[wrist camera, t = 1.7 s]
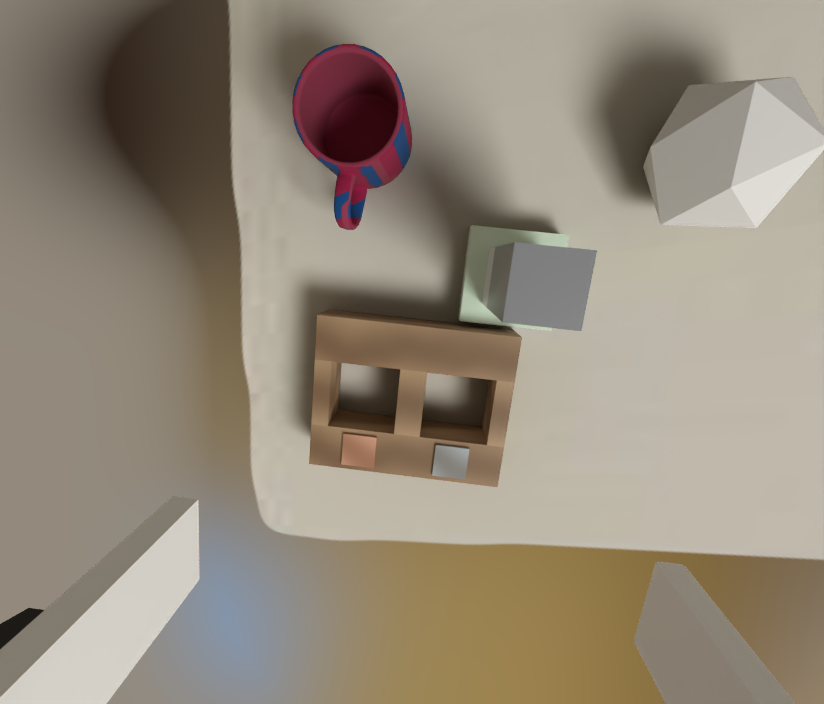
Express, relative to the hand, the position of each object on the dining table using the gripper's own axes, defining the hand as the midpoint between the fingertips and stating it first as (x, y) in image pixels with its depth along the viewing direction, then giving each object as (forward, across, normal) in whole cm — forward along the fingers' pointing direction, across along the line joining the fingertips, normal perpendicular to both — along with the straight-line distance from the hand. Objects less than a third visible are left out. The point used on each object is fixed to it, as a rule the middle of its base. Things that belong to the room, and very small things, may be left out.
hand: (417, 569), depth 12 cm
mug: (+23, -7, +15) cm, 29 cm away
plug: (+21, +5, +8) cm, 23 cm away
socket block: (+23, -1, -2) cm, 23 cm away
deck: (+23, +5, +8) cm, 25 cm away
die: (+23, +17, +17) cm, 33 cm away
